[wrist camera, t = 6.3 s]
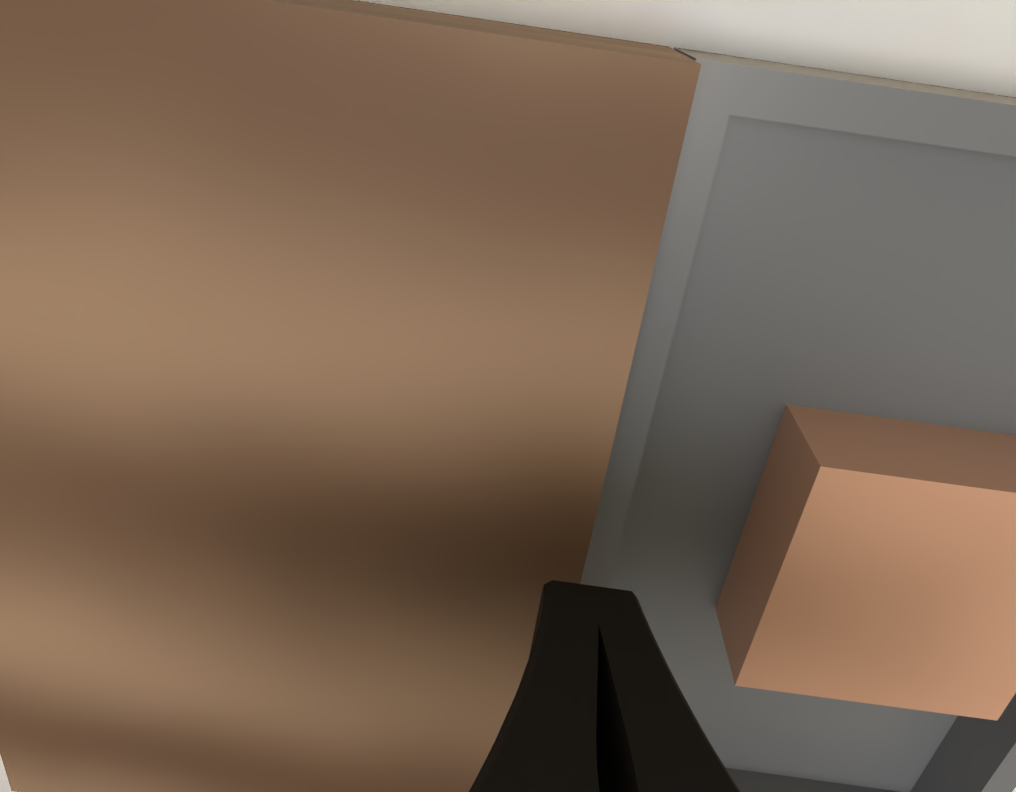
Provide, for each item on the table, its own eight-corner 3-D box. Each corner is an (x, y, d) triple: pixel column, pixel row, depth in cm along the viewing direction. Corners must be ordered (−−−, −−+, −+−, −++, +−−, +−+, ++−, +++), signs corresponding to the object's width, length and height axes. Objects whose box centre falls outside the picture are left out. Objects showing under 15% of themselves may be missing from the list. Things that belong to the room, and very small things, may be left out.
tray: (915, 792, 19) (952, 873, 17) (525, 738, 19) (522, 815, 17) (1326, 143, 11) (1466, 171, 10) (674, 47, 11) (696, 58, 10)
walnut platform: (521, 737, 19) (515, 858, 16) (87, 678, 19) (11, 790, 16) (667, 46, 11) (701, 64, 9) (-64, -61, 11) (-255, -76, 9)
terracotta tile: (735, 685, 14) (715, 608, 16) (997, 720, 14) (948, 640, 16) (820, 466, 12) (786, 404, 13) (1136, 509, 12) (1060, 441, 14)
